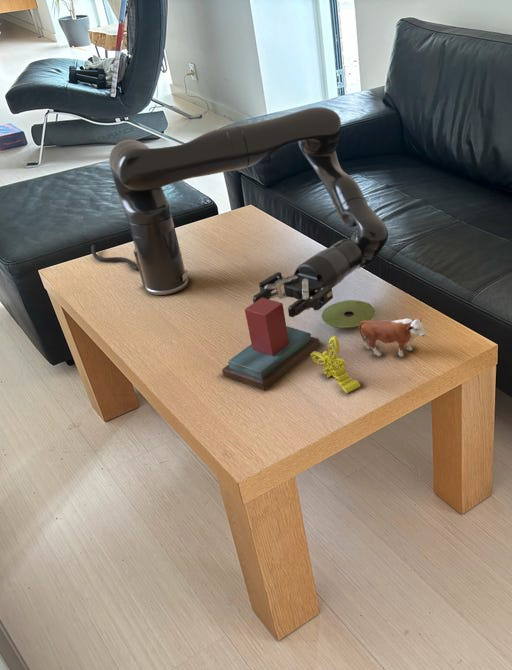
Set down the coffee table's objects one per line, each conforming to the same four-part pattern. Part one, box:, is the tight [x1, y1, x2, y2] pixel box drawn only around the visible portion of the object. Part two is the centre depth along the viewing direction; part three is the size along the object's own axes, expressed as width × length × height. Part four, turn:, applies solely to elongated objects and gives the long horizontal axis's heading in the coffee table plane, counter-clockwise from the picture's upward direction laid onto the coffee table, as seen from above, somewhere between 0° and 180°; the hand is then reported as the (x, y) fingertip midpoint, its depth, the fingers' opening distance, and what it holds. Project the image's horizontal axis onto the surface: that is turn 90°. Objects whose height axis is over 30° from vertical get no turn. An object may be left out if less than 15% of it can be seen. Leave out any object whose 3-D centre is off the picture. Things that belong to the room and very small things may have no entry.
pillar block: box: [244, 298, 289, 356], centre depth 139 cm, size 5×5×9 cm
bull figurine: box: [358, 317, 427, 358], centre depth 142 cm, size 4×13×8 cm, turn 78°
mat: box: [321, 299, 376, 329], centre depth 154 cm, size 11×11×2 cm
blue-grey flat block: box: [221, 325, 320, 391], centre depth 142 cm, size 10×17×3 cm, turn 151°
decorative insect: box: [309, 335, 361, 394], centre depth 135 cm, size 13×3×10 cm
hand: (272, 307), depth 139 cm, fingers open, 8 cm apart
